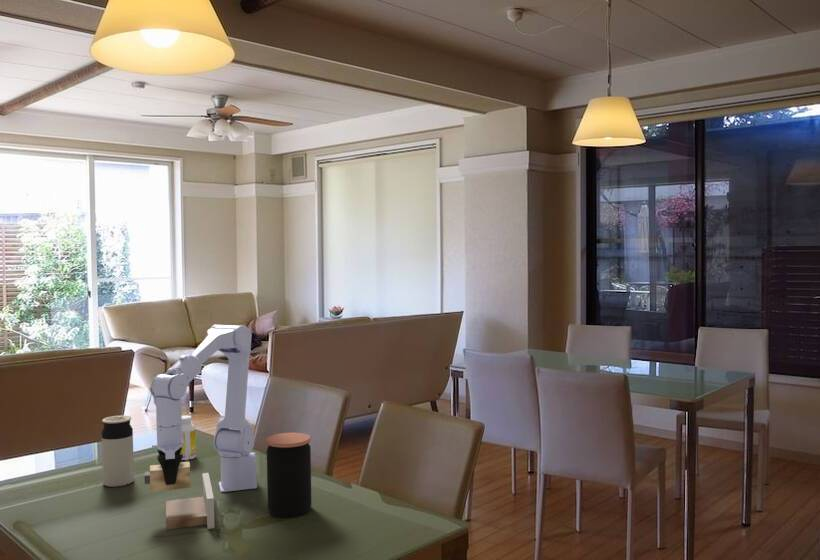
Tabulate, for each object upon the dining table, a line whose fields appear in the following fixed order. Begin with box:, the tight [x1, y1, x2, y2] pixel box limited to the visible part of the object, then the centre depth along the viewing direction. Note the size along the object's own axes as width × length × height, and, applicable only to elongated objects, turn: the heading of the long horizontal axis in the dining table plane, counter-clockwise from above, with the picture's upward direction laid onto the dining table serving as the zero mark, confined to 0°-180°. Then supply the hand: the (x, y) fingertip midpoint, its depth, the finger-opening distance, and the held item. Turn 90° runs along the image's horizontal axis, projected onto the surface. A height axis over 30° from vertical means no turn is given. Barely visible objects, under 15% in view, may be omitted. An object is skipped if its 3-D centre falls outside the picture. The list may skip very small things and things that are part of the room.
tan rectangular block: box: [144, 461, 191, 493], centre depth 171 cm, size 10×4×5 cm, turn 109°
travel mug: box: [101, 415, 135, 488], centre depth 198 cm, size 8×8×18 cm
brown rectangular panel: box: [165, 496, 207, 531], centre depth 173 cm, size 9×14×2 cm, turn 19°
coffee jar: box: [266, 432, 312, 519], centre depth 176 cm, size 11×11×18 cm
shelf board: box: [201, 472, 215, 530], centre depth 174 cm, size 2×20×7 cm, turn 19°
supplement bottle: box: [180, 415, 197, 461], centre depth 221 cm, size 7×7×13 cm
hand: (170, 480), depth 171 cm, fingers closed on tan rectangular block, 4 cm apart
